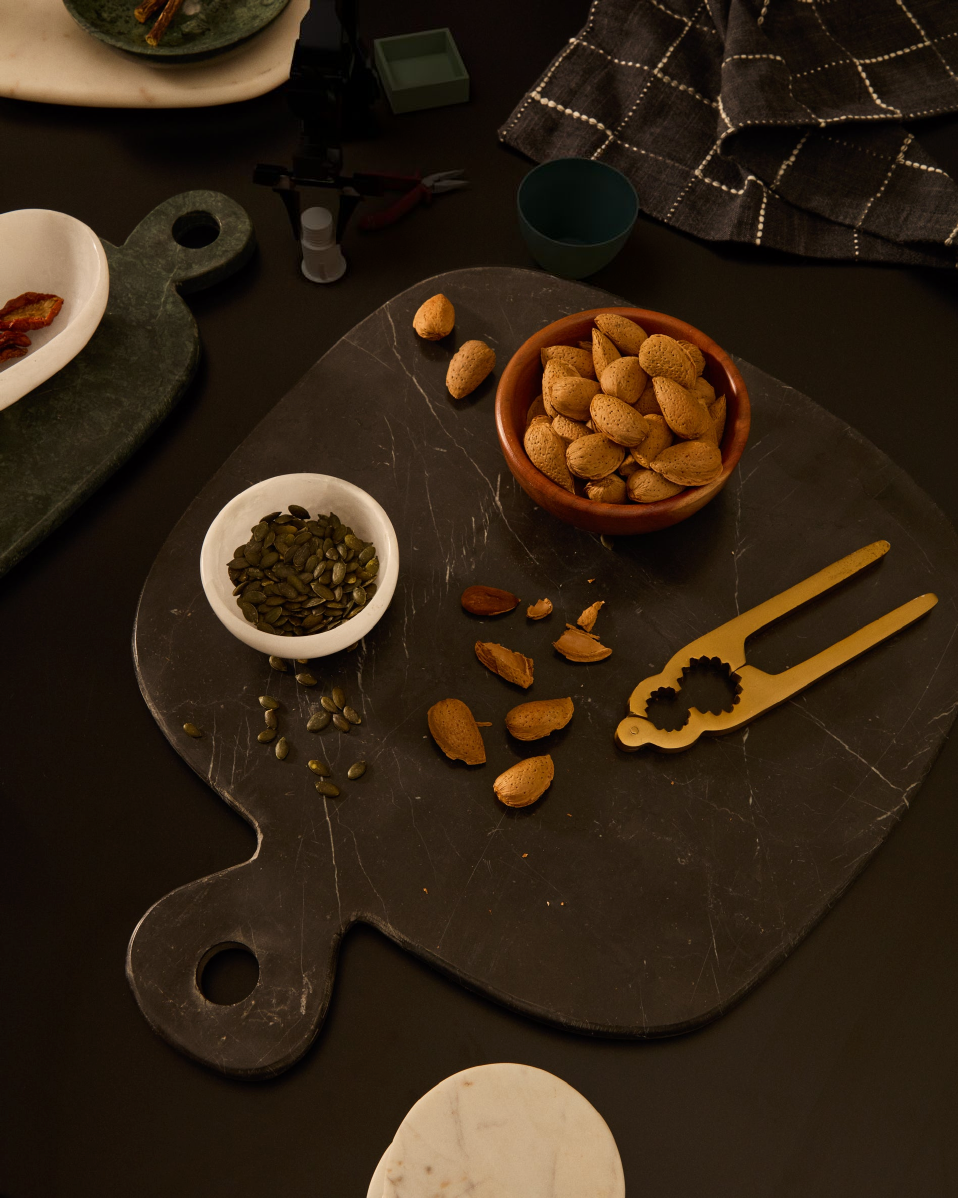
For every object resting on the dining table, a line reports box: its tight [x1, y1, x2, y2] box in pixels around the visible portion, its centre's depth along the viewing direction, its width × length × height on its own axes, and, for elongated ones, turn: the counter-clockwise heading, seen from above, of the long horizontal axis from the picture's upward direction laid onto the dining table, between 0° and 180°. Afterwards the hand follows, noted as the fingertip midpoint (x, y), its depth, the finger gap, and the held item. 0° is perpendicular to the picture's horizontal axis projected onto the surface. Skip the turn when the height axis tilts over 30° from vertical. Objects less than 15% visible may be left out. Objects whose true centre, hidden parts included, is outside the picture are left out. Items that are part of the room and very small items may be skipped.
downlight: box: [300, 206, 347, 284], centre depth 150 cm, size 8×7×10 cm
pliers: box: [347, 168, 471, 231], centre depth 160 cm, size 12×20×3 cm, turn 110°
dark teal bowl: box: [516, 156, 640, 281], centre depth 151 cm, size 18×18×12 cm
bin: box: [373, 27, 470, 115], centre depth 171 cm, size 14×14×5 cm
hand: (317, 242), depth 148 cm, fingers closed on downlight, 6 cm apart
